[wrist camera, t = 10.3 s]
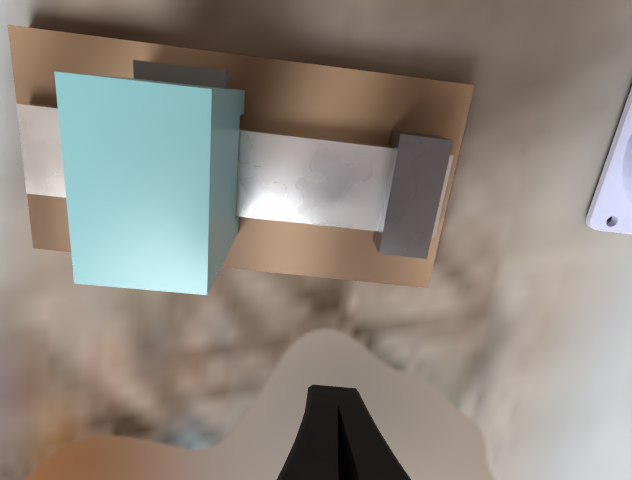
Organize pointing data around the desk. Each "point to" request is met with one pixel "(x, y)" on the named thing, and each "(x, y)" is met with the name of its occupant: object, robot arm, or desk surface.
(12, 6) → the desk surface
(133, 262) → the block
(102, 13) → the desk surface
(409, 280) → the mounting board
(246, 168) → the rail
